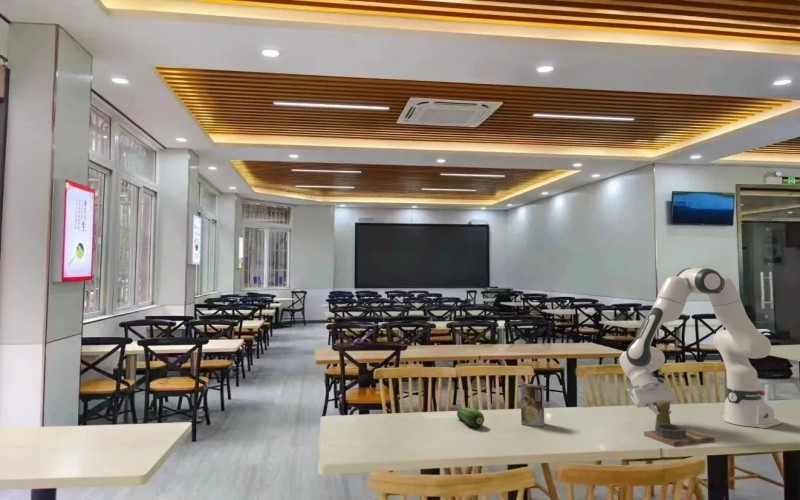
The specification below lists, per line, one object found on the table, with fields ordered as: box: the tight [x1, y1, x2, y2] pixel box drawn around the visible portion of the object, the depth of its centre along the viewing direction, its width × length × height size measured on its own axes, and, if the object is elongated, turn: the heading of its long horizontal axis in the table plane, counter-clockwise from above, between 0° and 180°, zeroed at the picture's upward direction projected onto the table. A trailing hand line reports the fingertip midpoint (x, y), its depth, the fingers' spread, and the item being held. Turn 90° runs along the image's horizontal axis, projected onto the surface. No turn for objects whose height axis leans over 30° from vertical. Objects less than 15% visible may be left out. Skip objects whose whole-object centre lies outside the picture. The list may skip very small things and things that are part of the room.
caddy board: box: [643, 423, 715, 447], centre depth 200 cm, size 20×14×4 cm
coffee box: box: [520, 383, 545, 427], centre depth 220 cm, size 9×6×16 cm
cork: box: [655, 401, 672, 425], centre depth 213 cm, size 6×6×11 cm
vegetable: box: [456, 407, 485, 429], centre depth 220 cm, size 7×7×20 cm
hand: (664, 414), depth 213 cm, fingers closed on cork, 4 cm apart
